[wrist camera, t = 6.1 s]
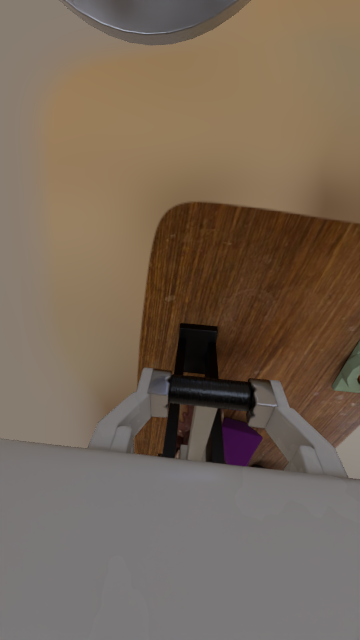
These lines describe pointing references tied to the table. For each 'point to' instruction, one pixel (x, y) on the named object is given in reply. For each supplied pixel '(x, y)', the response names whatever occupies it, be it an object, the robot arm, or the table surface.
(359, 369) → the button box
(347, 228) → the table surface
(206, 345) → the bracket
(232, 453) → the perfume bottle
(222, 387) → the lever
